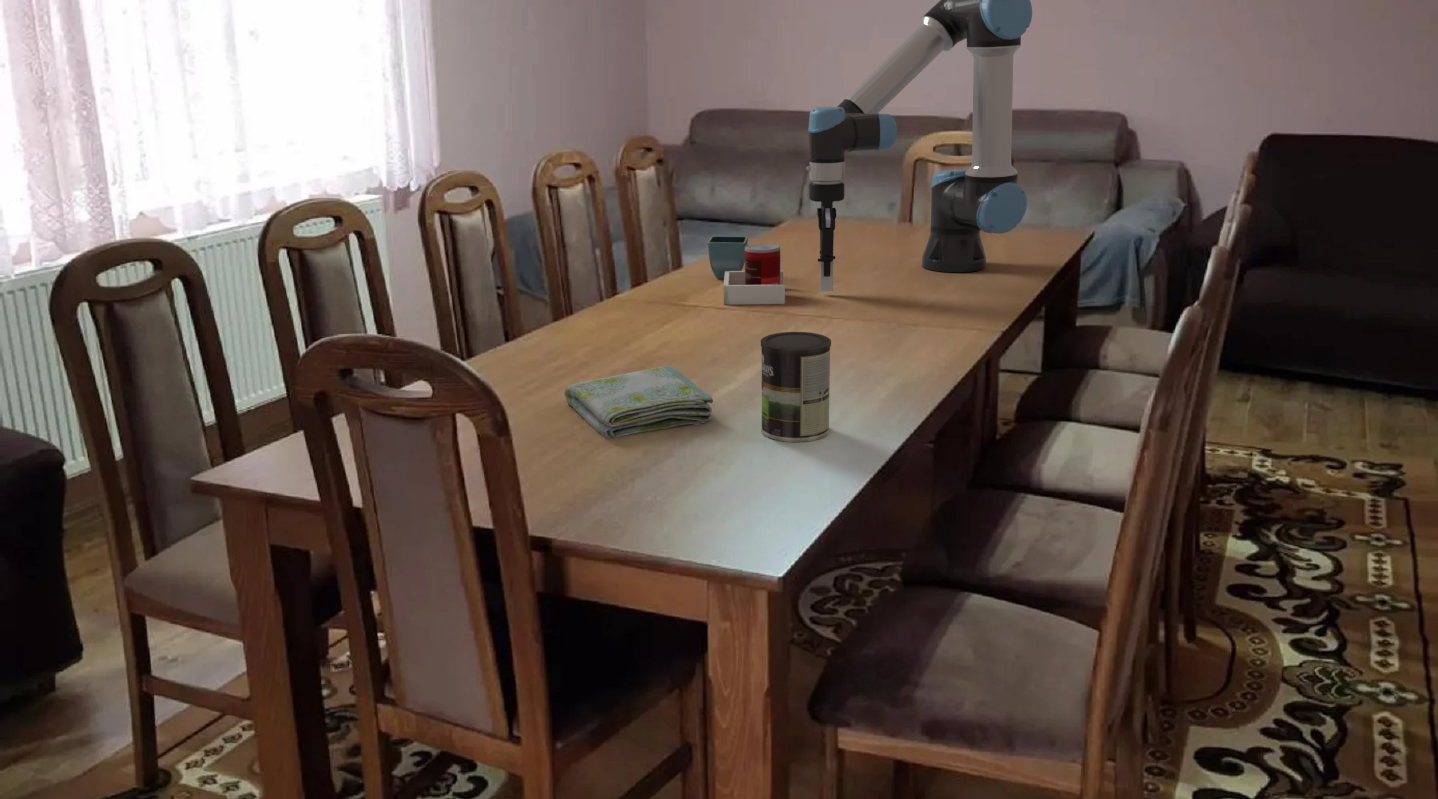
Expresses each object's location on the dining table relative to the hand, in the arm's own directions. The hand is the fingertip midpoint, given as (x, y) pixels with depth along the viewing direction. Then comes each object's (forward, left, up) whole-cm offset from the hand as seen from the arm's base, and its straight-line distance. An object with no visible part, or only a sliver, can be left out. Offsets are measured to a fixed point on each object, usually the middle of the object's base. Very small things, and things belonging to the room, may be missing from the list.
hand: (826, 290), depth 279 cm
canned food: (+14, 0, -1) cm, 14 cm away
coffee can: (+10, +93, -1) cm, 94 cm away
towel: (+34, +83, -2) cm, 90 cm away
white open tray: (+16, 0, -1) cm, 16 cm away
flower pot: (+22, -21, -1) cm, 30 cm away
